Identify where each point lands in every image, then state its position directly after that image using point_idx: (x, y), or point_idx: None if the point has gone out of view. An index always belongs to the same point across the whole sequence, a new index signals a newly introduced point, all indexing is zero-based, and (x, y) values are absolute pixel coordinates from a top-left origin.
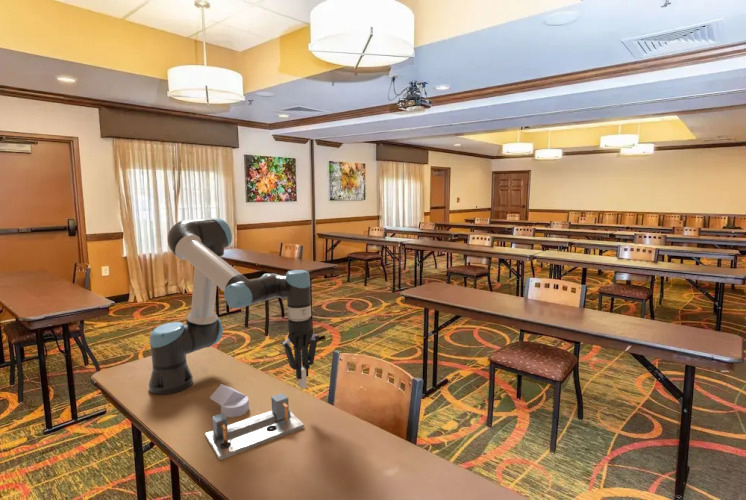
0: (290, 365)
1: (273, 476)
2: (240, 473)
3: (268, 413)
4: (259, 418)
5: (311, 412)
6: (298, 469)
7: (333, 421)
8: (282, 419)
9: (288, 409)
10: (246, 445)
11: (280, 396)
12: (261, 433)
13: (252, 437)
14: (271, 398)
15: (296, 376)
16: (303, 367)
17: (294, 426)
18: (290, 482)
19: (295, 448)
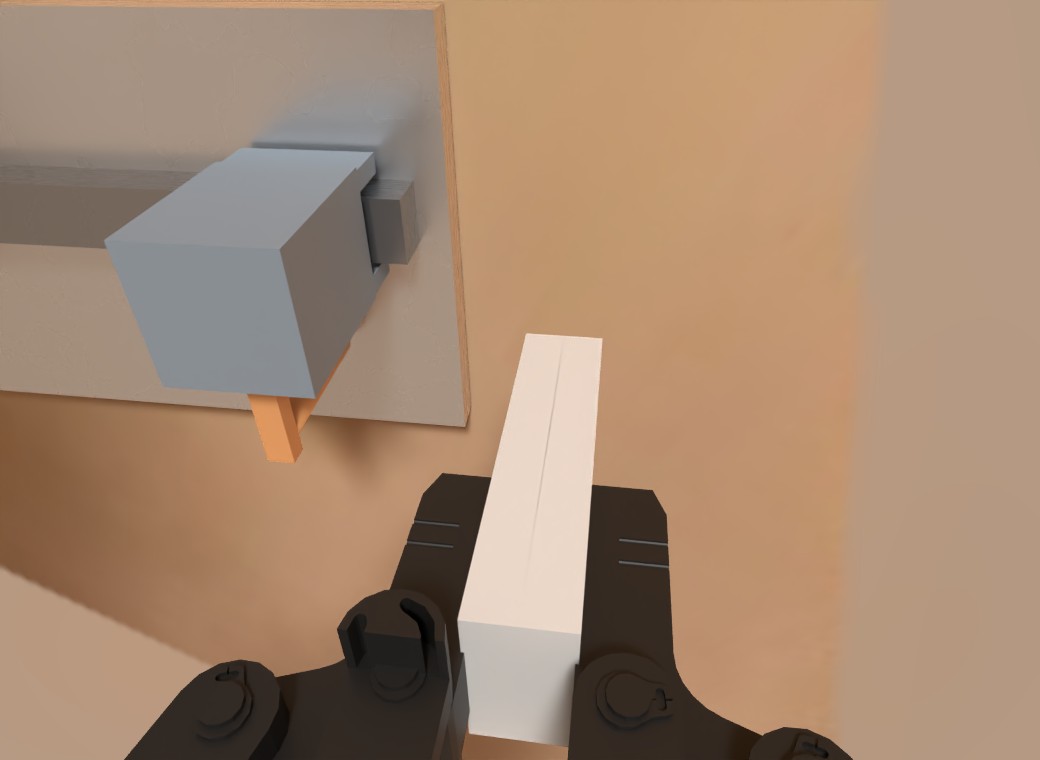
0: (167, 755)
1: (187, 596)
2: (30, 506)
3: (214, 52)
4: (82, 192)
5: (651, 258)
6: (304, 625)
7: (703, 471)
8: None
9: (363, 315)
10: (21, 387)
11: (228, 316)
12: (126, 329)
13: (57, 332)
14: (121, 232)
15: (423, 509)
16: (568, 690)
17: (389, 405)
18: (252, 650)
19: (337, 524)
